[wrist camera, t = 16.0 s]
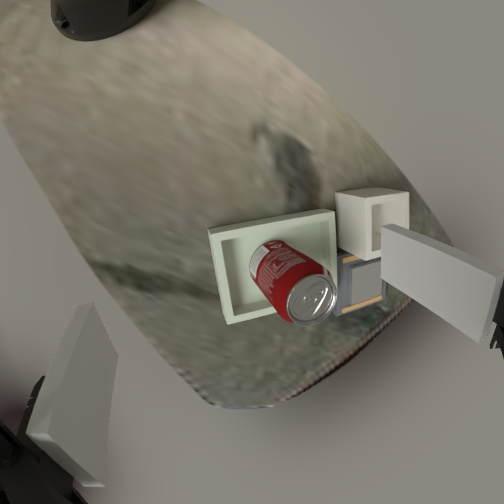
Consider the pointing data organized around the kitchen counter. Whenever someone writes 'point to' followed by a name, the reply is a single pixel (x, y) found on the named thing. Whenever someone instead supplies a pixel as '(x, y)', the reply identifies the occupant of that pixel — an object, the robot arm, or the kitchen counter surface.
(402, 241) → the robot arm
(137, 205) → the kitchen counter surface
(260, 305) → the trough
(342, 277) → the checker cradle
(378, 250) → the cup
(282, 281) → the soda can
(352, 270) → the platform
